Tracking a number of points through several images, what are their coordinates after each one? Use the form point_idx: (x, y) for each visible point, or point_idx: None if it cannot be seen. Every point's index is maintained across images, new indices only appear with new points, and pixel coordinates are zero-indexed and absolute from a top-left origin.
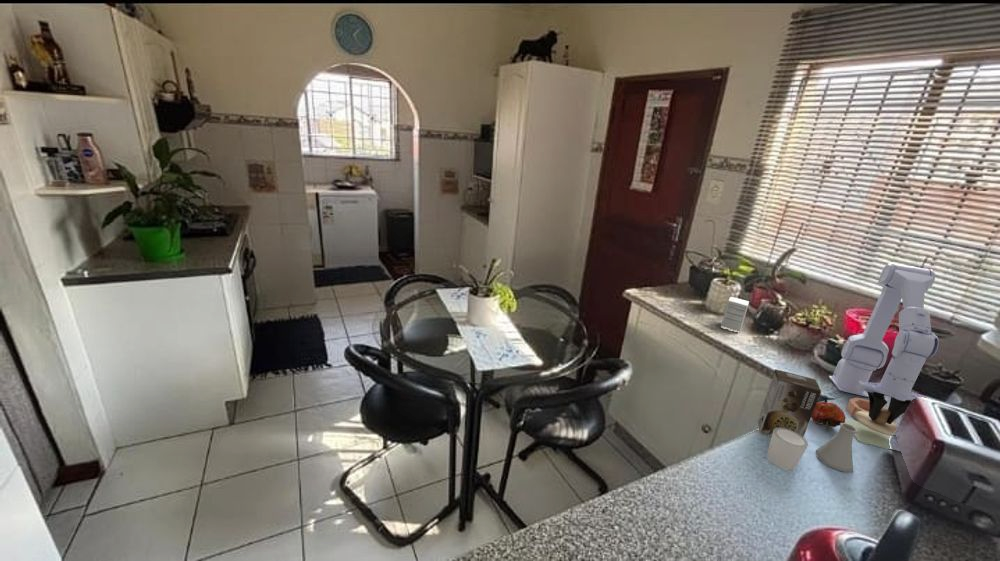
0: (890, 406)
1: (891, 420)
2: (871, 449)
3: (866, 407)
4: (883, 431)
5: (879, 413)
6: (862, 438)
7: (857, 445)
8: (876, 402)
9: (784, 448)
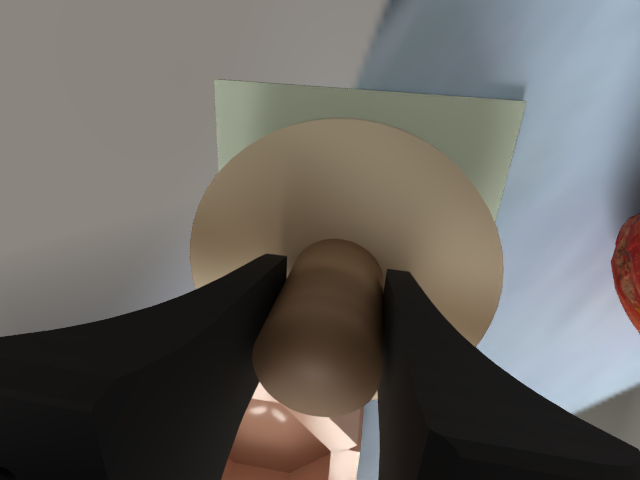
0: (229, 430)
1: (263, 266)
2: (471, 18)
3: (247, 473)
4: (377, 132)
5: (370, 319)
6: (469, 141)
7: (570, 28)
8: (578, 422)
9: None
